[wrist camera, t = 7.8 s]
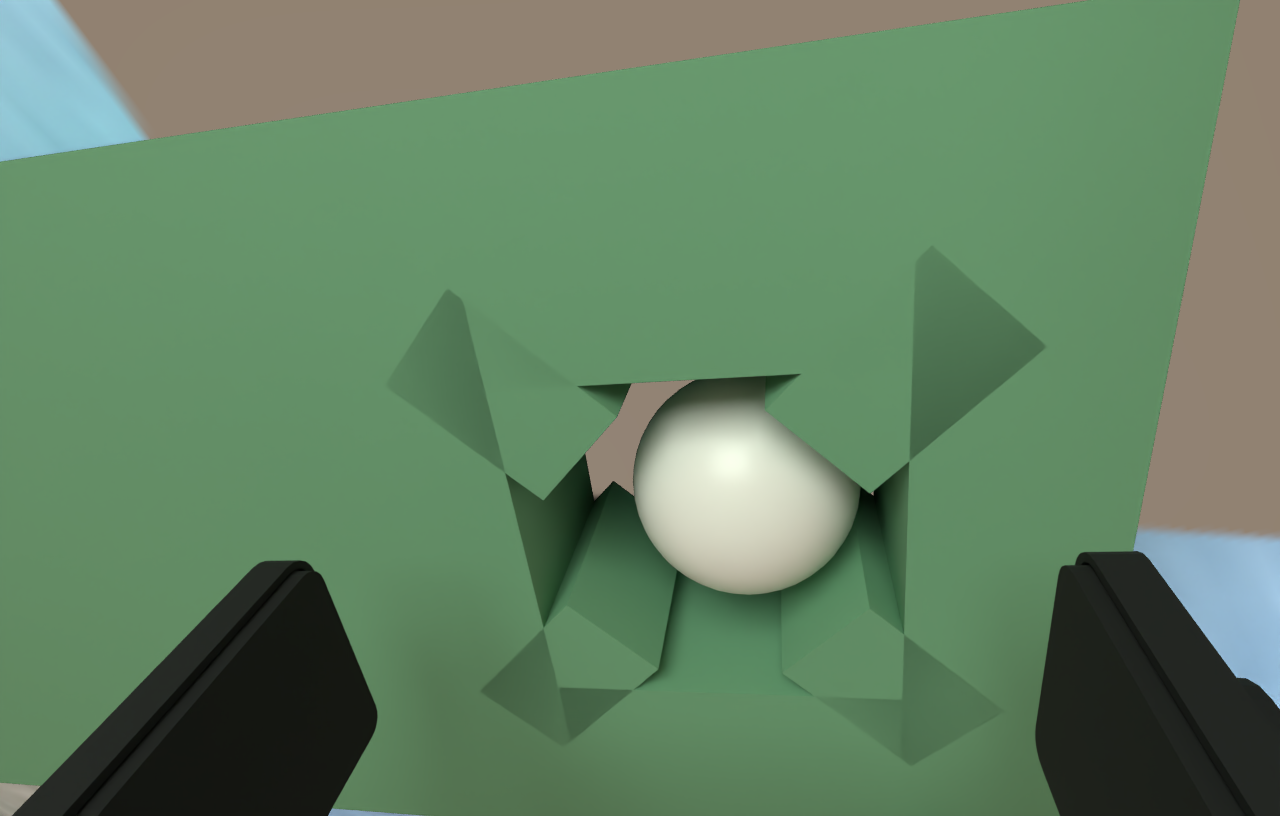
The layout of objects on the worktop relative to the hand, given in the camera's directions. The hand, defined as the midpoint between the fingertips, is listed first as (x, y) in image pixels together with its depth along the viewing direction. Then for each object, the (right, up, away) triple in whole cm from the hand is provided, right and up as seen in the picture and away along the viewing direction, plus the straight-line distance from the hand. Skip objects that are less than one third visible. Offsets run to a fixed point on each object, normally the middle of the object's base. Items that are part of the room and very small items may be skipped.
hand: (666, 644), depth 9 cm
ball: (+2, +2, +4) cm, 4 cm away
